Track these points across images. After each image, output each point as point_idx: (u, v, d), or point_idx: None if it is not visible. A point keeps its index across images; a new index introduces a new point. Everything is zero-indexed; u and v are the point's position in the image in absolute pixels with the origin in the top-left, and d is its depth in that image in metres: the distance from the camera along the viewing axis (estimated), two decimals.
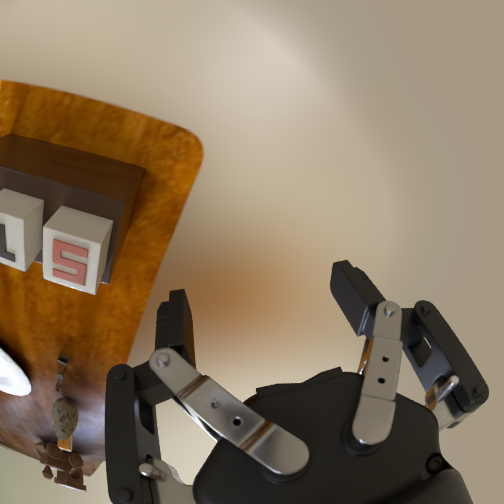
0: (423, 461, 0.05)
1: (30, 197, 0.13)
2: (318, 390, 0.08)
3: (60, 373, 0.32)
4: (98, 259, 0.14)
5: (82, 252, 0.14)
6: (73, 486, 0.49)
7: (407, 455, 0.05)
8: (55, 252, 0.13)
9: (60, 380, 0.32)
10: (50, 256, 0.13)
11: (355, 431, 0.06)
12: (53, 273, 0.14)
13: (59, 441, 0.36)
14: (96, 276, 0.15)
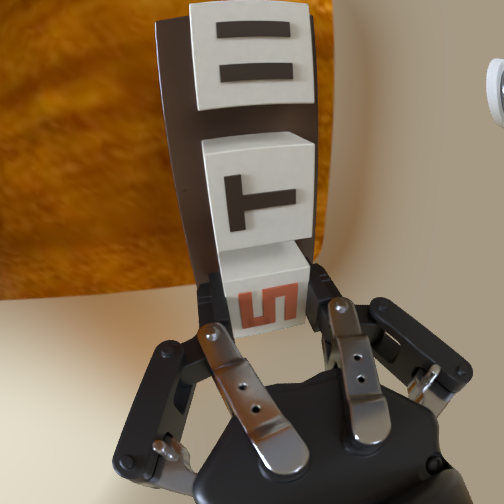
0: (423, 461, 0.05)
1: None
2: (318, 390, 0.08)
3: None
4: (285, 327, 0.14)
5: (289, 313, 0.14)
6: None
7: (418, 456, 0.05)
8: (278, 289, 0.13)
9: None
10: (269, 285, 0.12)
11: (358, 436, 0.06)
12: (243, 295, 0.12)
13: None
14: (261, 332, 0.14)
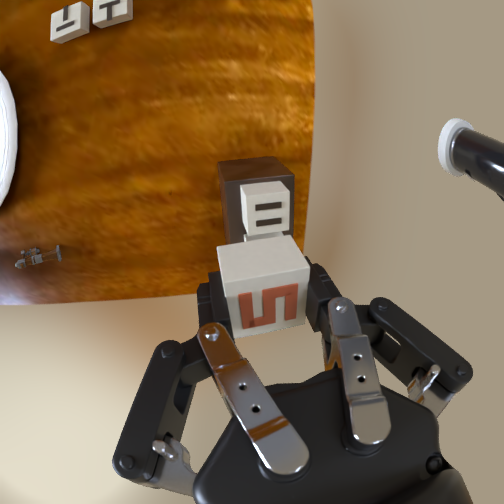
0: (423, 461, 0.05)
1: None
2: (318, 390, 0.08)
3: (42, 258, 0.31)
4: (285, 327, 0.14)
5: (289, 314, 0.14)
6: None
7: (418, 456, 0.05)
8: (278, 289, 0.13)
9: (35, 262, 0.30)
10: (269, 285, 0.12)
11: (358, 436, 0.06)
12: (243, 295, 0.12)
13: None
14: (261, 332, 0.14)
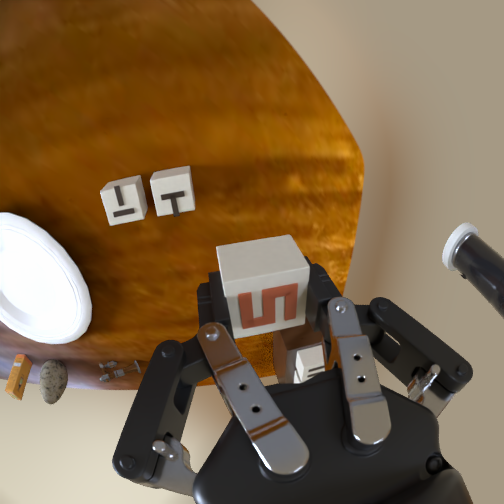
0: (423, 461, 0.05)
1: None
2: (318, 390, 0.08)
3: (124, 372, 0.41)
4: (285, 327, 0.14)
5: (289, 313, 0.14)
6: None
7: (418, 456, 0.05)
8: (278, 289, 0.13)
9: None
10: (269, 285, 0.12)
11: (358, 436, 0.06)
12: (243, 295, 0.12)
13: (15, 387, 0.31)
14: (261, 332, 0.14)
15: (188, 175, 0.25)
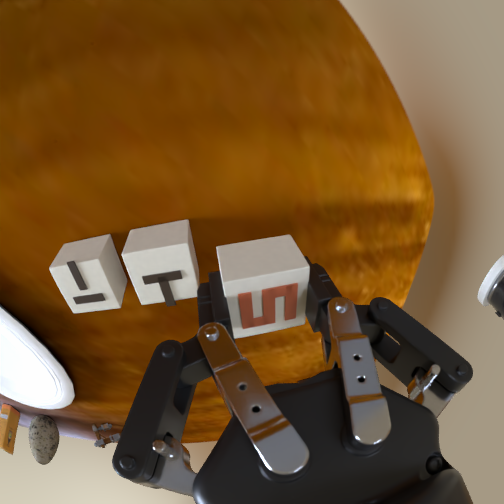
0: (423, 461, 0.05)
1: None
2: (318, 390, 0.08)
3: None
4: (285, 327, 0.14)
5: (289, 313, 0.14)
6: None
7: (418, 456, 0.05)
8: (278, 289, 0.13)
9: None
10: (269, 285, 0.12)
11: (358, 436, 0.06)
12: (243, 295, 0.12)
13: (4, 443, 0.21)
14: (261, 332, 0.14)
15: (187, 246, 0.15)
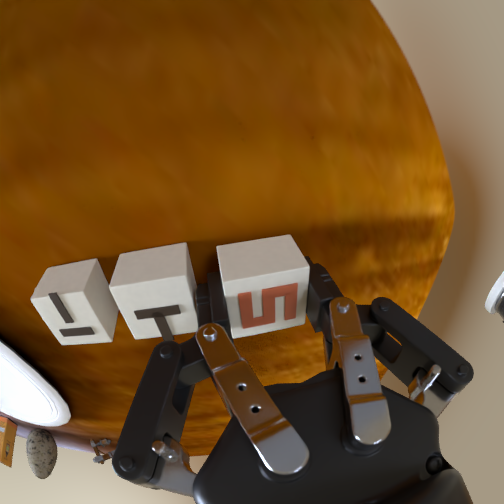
0: (423, 461, 0.05)
1: None
2: (318, 390, 0.08)
3: None
4: (285, 327, 0.14)
5: (289, 313, 0.14)
6: None
7: (418, 456, 0.05)
8: (278, 289, 0.13)
9: None
10: (269, 285, 0.12)
11: (358, 436, 0.06)
12: (243, 295, 0.12)
13: (2, 456, 0.18)
14: (261, 332, 0.14)
15: (185, 279, 0.12)
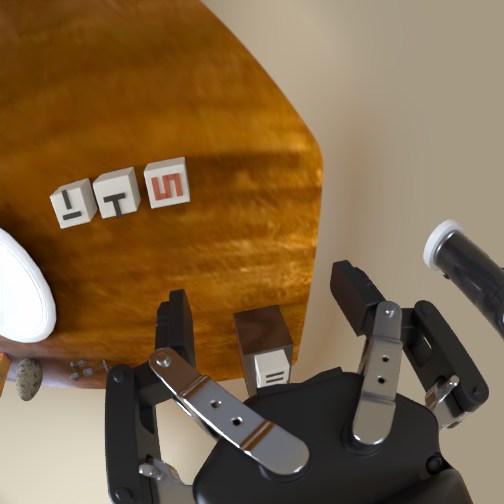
0: (423, 461, 0.05)
1: None
2: (318, 390, 0.08)
3: (93, 371, 0.39)
4: (179, 202, 0.26)
5: (179, 192, 0.26)
6: None
7: (407, 455, 0.05)
8: (169, 176, 0.25)
9: None
10: (165, 173, 0.24)
11: (355, 431, 0.06)
12: (153, 178, 0.24)
13: None
14: (166, 205, 0.26)
15: (127, 177, 0.24)
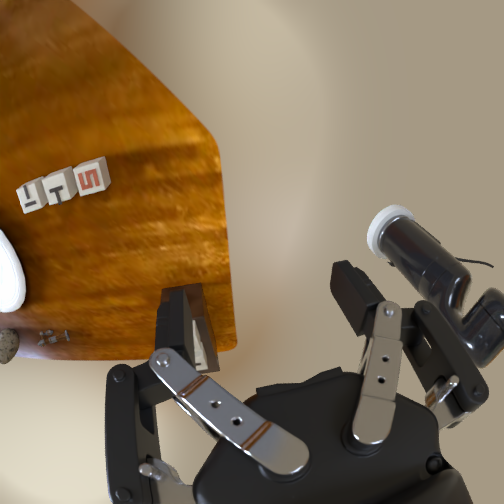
0: (423, 461, 0.05)
1: None
2: (318, 390, 0.08)
3: (56, 339, 0.44)
4: (98, 191, 0.31)
5: (97, 183, 0.30)
6: None
7: (407, 455, 0.05)
8: (89, 171, 0.29)
9: (52, 342, 0.43)
10: (86, 169, 0.29)
11: (355, 431, 0.06)
12: (79, 174, 0.29)
13: None
14: (89, 193, 0.31)
15: (63, 173, 0.28)
